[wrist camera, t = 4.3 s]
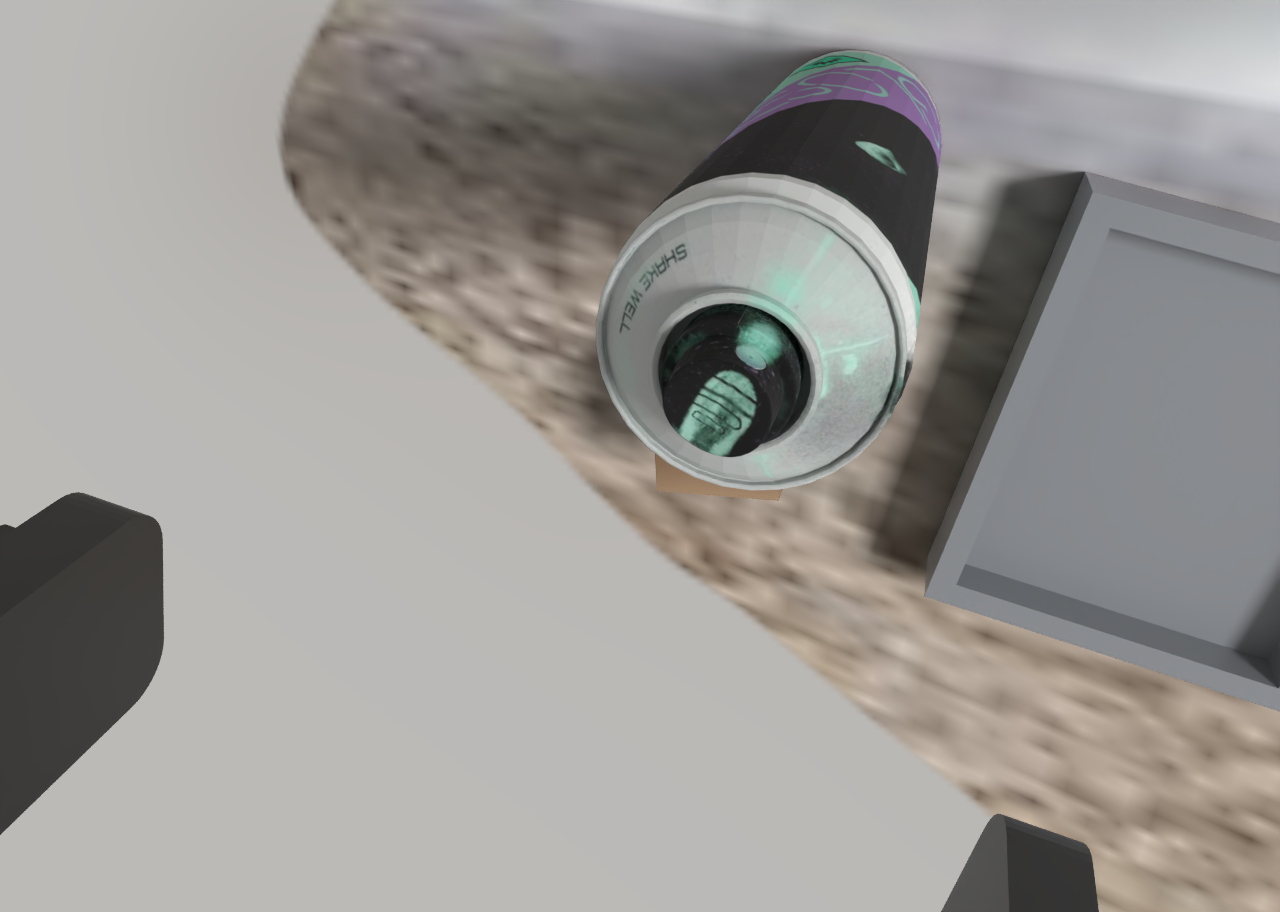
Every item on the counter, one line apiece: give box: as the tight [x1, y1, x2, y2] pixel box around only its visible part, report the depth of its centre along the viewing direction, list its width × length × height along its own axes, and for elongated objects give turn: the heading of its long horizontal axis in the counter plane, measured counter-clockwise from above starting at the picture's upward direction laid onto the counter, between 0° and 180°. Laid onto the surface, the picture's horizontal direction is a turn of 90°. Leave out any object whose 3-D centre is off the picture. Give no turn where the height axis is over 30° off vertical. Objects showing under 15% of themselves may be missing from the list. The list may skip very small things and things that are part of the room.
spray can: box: [596, 50, 942, 491], centre depth 25 cm, size 6×6×20 cm
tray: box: [924, 172, 1280, 711], centre depth 34 cm, size 14×12×2 cm
